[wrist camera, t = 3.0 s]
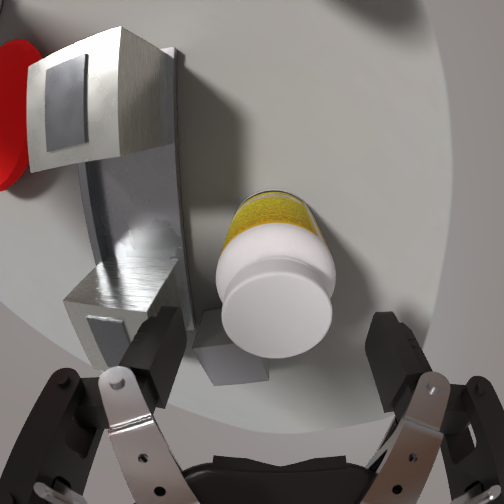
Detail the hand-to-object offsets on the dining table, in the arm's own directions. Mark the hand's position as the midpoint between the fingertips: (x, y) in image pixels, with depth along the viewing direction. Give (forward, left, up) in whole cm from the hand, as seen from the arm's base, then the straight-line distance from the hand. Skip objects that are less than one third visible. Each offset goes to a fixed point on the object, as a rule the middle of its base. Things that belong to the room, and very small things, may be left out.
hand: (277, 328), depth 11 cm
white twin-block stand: (-2, -11, -11) cm, 16 cm away
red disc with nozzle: (-13, -26, -12) cm, 31 cm away
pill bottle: (0, 0, -12) cm, 12 cm away
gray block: (+10, -3, -11) cm, 15 cm away
